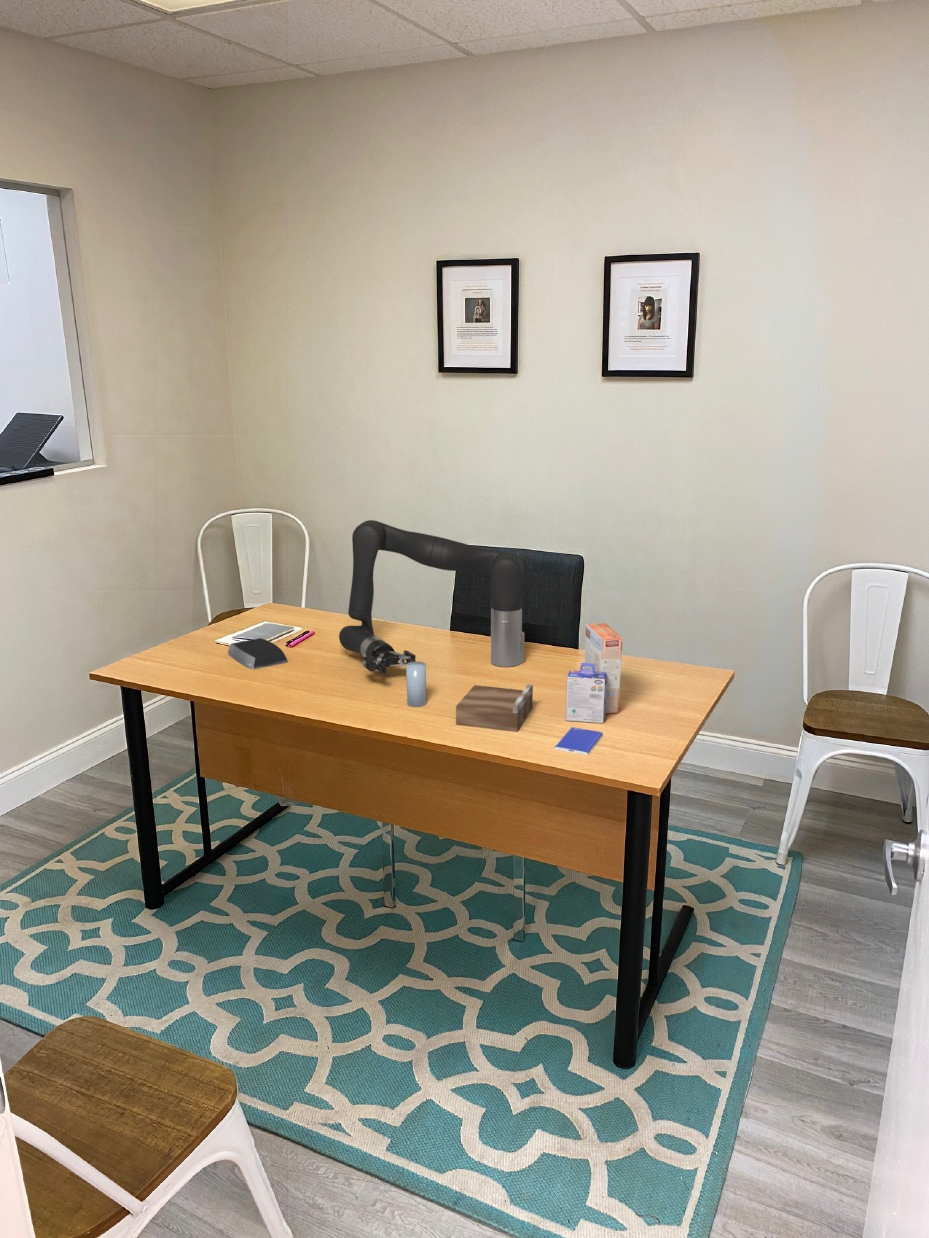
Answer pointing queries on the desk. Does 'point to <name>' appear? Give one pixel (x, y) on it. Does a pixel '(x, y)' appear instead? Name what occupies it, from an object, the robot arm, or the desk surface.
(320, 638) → the desk surface
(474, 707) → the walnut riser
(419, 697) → the pale blue cylinder
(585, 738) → the hard drive
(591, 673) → the ink cartridge box
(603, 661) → the cracker box
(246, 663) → the external hard drive
